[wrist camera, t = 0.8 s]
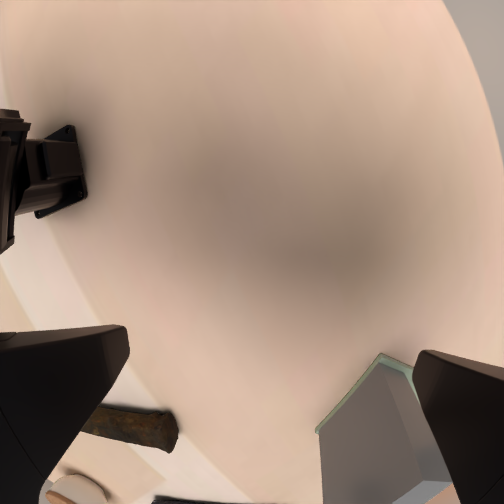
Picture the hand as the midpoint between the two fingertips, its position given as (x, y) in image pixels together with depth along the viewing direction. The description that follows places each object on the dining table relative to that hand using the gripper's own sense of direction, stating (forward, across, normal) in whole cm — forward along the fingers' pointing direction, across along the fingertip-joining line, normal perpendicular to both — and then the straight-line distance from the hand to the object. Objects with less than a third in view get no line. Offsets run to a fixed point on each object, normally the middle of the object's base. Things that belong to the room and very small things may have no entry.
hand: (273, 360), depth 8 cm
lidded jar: (+14, -28, -45) cm, 54 cm away
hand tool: (+14, -17, -21) cm, 30 cm away
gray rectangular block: (+12, +8, -13) cm, 20 cm away
